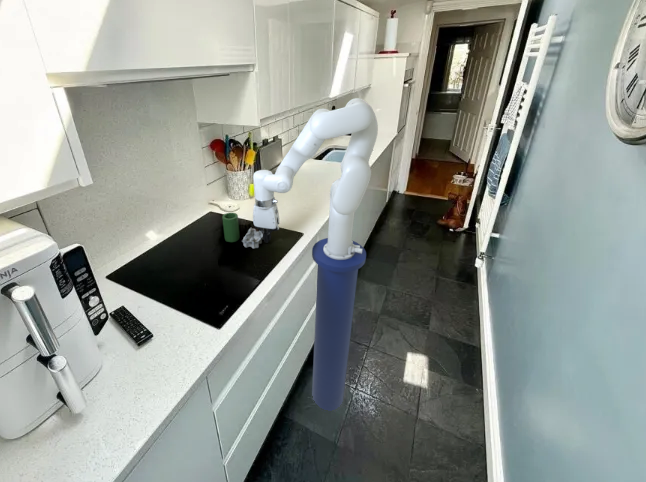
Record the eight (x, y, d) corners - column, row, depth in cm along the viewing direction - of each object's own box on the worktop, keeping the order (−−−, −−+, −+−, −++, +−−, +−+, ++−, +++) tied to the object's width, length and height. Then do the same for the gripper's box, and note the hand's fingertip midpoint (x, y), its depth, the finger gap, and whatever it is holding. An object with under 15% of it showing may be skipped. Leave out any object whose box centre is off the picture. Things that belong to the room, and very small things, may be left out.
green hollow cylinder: (242, 235, 136) (240, 213, 131) (235, 243, 130) (233, 220, 126) (229, 233, 138) (226, 211, 133) (222, 240, 132) (219, 218, 128)
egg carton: (251, 234, 137) (251, 226, 135) (267, 237, 134) (266, 229, 132) (240, 246, 128) (239, 238, 126) (256, 250, 125) (256, 241, 123)
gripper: (285, 199, 122) (286, 238, 130) (251, 195, 127) (254, 234, 135) (279, 207, 116) (281, 248, 124) (243, 203, 120) (247, 242, 129)
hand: (267, 240), depth 129 cm, fingers closed
